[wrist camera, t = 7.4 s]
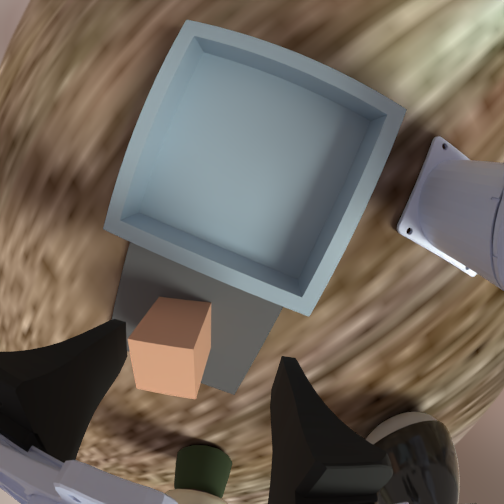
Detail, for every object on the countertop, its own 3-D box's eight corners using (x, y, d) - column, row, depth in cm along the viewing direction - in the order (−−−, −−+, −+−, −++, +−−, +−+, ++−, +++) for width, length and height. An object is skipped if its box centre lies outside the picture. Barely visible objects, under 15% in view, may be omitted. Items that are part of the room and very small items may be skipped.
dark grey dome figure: (422, 443, 27) (458, 533, 12) (346, 461, 28) (365, 566, 13) (446, 387, 24) (507, 490, 9) (358, 408, 25) (395, 541, 10)
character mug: (154, 452, 28) (126, 537, 16) (166, 423, 26) (132, 525, 14) (238, 478, 29) (230, 563, 17) (262, 453, 27) (258, 554, 15)
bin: (385, 117, 18) (406, 109, 14) (303, 293, 21) (309, 316, 18) (198, 40, 17) (186, 19, 13) (126, 218, 20) (103, 229, 17)
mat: (284, 300, 22) (285, 302, 21) (234, 391, 24) (234, 394, 24) (133, 236, 21) (131, 237, 20) (110, 338, 24) (107, 340, 23)
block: (211, 302, 21) (193, 349, 16) (210, 347, 23) (195, 399, 17) (159, 296, 21) (127, 338, 16) (162, 340, 23) (136, 388, 17)
